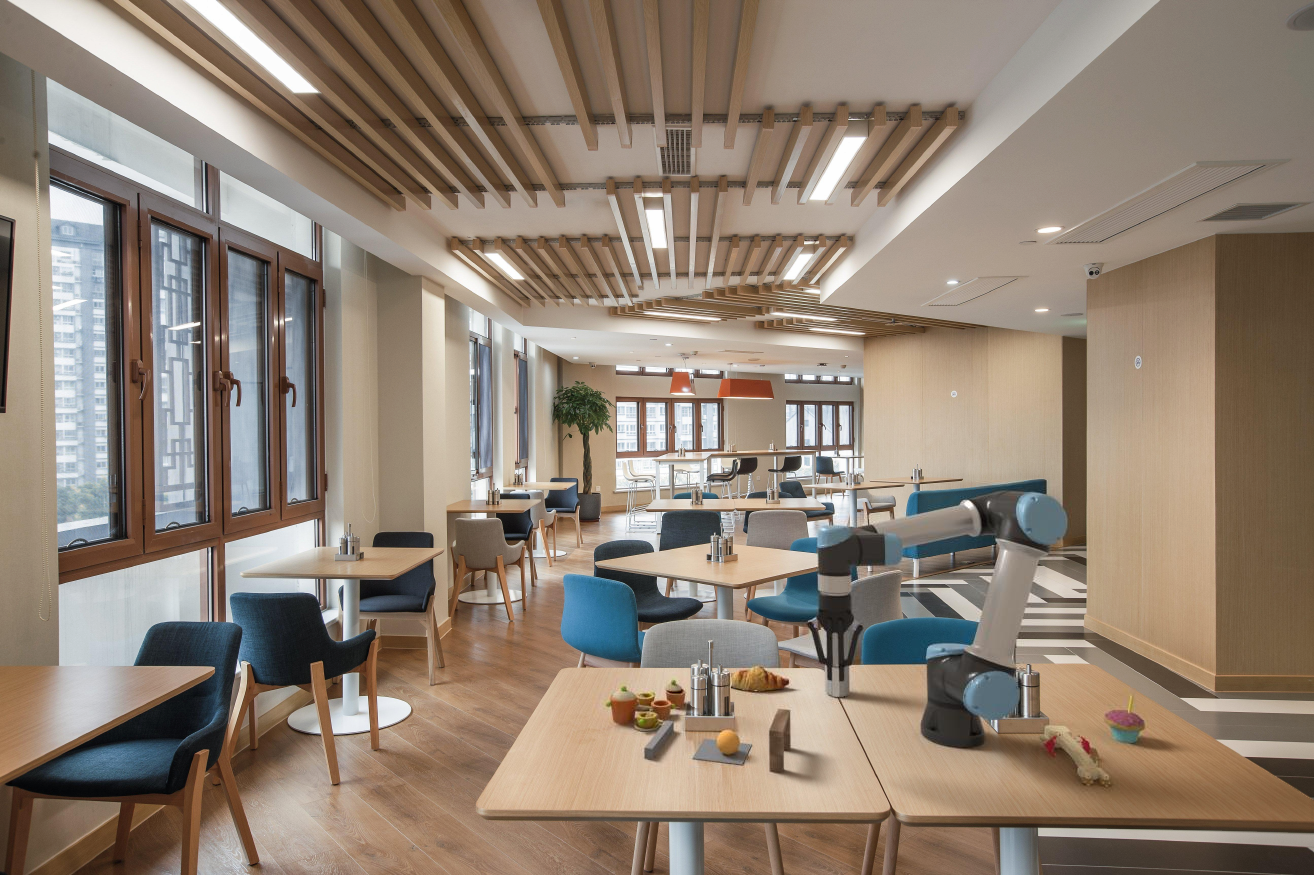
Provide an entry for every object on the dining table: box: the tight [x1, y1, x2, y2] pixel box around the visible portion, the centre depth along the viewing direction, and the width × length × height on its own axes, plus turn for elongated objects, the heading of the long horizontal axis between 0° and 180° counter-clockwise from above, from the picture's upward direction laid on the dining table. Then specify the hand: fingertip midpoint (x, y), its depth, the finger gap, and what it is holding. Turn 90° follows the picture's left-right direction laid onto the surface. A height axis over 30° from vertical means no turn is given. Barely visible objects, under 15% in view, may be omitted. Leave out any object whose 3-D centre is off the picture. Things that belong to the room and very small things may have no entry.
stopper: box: [643, 720, 675, 760], centre depth 176 cm, size 2×18×2 cm, turn 162°
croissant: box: [730, 665, 790, 692], centre depth 219 cm, size 21×10×8 cm, turn 79°
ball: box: [716, 729, 741, 755], centre depth 170 cm, size 6×6×6 cm
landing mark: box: [691, 738, 752, 766], centre depth 171 cm, size 12×12×1 cm
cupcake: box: [1103, 692, 1146, 744], centre depth 177 cm, size 9×8×12 cm
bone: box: [1038, 724, 1113, 787], centre depth 165 cm, size 10×9×25 cm
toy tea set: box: [605, 679, 686, 733], centre depth 197 cm, size 26×16×10 cm, turn 152°
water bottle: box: [823, 626, 851, 698], centre depth 213 cm, size 9×8×25 cm
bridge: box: [768, 708, 792, 774], centre depth 167 cm, size 3×14×9 cm, turn 162°
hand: (836, 694), depth 163 cm, fingers closed
